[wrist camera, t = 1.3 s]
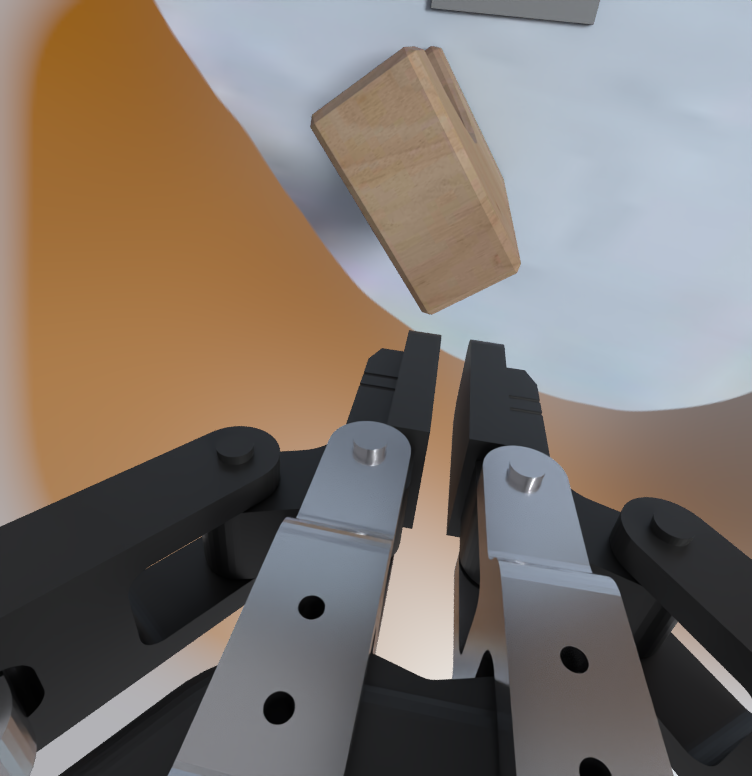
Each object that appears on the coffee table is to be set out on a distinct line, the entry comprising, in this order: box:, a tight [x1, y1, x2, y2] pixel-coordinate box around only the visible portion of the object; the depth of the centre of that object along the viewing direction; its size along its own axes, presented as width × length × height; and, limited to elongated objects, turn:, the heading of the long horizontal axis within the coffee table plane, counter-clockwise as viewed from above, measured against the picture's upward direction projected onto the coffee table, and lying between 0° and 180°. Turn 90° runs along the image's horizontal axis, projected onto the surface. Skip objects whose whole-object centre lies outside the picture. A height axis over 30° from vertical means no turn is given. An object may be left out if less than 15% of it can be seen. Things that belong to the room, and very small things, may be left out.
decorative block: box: [310, 46, 521, 315], centre depth 33 cm, size 11×6×20 cm, turn 31°
